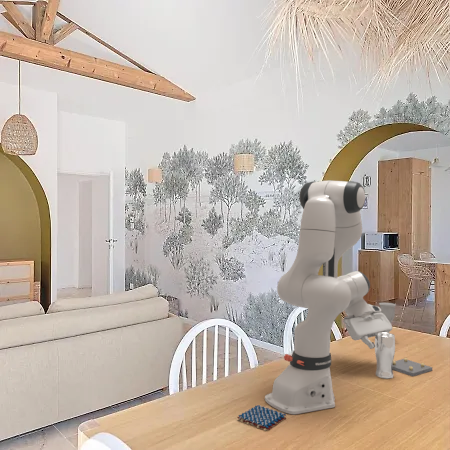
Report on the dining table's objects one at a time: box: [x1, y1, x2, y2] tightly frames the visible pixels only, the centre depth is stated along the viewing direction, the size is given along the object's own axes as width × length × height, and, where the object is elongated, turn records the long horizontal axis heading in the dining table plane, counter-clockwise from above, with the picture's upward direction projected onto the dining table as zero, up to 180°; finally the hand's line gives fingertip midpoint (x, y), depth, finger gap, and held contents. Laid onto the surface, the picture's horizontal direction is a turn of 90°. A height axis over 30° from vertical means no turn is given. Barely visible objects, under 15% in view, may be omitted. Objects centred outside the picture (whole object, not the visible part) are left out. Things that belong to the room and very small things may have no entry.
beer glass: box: [374, 332, 396, 379], centre depth 159 cm, size 7×7×15 cm
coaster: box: [392, 357, 433, 377], centre depth 167 cm, size 12×12×2 cm
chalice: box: [378, 302, 397, 324], centre depth 200 cm, size 7×7×18 cm
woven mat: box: [237, 404, 287, 432], centre depth 124 cm, size 10×11×2 cm
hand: (381, 345), depth 160 cm, fingers open, 8 cm apart
